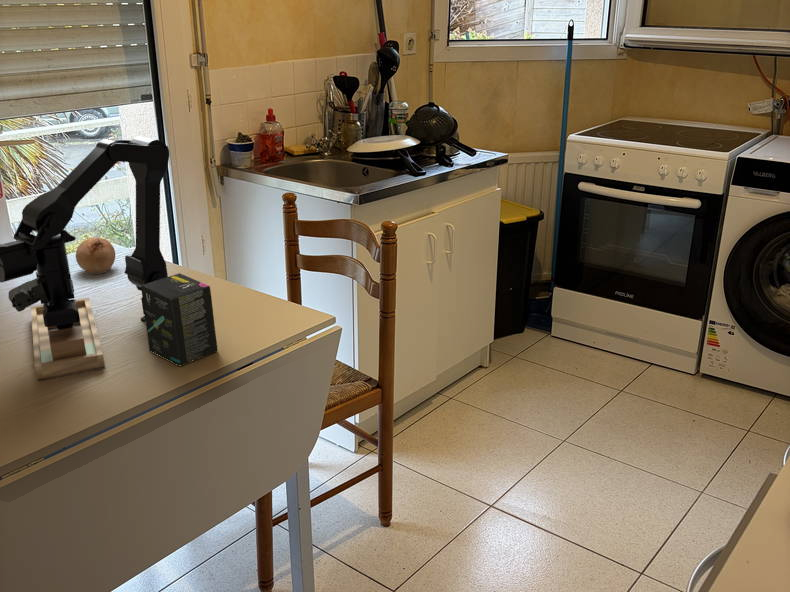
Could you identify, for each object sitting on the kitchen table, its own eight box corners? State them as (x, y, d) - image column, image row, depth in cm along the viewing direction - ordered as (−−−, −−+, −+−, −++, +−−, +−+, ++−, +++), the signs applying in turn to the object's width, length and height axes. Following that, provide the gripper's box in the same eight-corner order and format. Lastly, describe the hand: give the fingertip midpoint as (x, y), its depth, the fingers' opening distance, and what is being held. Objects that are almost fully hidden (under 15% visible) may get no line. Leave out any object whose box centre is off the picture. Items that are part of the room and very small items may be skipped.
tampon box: (218, 352, 157) (212, 285, 151) (179, 368, 151) (171, 299, 145) (187, 335, 164) (179, 271, 158) (148, 350, 158) (139, 284, 152)
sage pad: (98, 364, 151) (97, 359, 151) (43, 375, 147) (41, 369, 147) (94, 347, 158) (93, 342, 157) (41, 357, 154) (40, 352, 154)
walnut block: (87, 359, 151) (83, 338, 149) (54, 365, 148) (49, 344, 147) (84, 346, 156) (81, 326, 154) (52, 352, 154) (48, 331, 152)
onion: (107, 286, 197) (107, 258, 190) (70, 276, 196) (68, 248, 189) (120, 261, 204) (121, 233, 197) (84, 252, 202) (83, 223, 195)
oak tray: (105, 368, 151) (102, 354, 150) (37, 380, 146) (35, 366, 145) (90, 310, 176) (88, 297, 175) (33, 319, 171) (30, 306, 170)
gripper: (6, 257, 154) (21, 328, 160) (6, 291, 139) (22, 368, 145) (66, 249, 159) (78, 319, 165) (73, 281, 143) (86, 356, 149)
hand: (66, 339), depth 156 cm, fingers closed
